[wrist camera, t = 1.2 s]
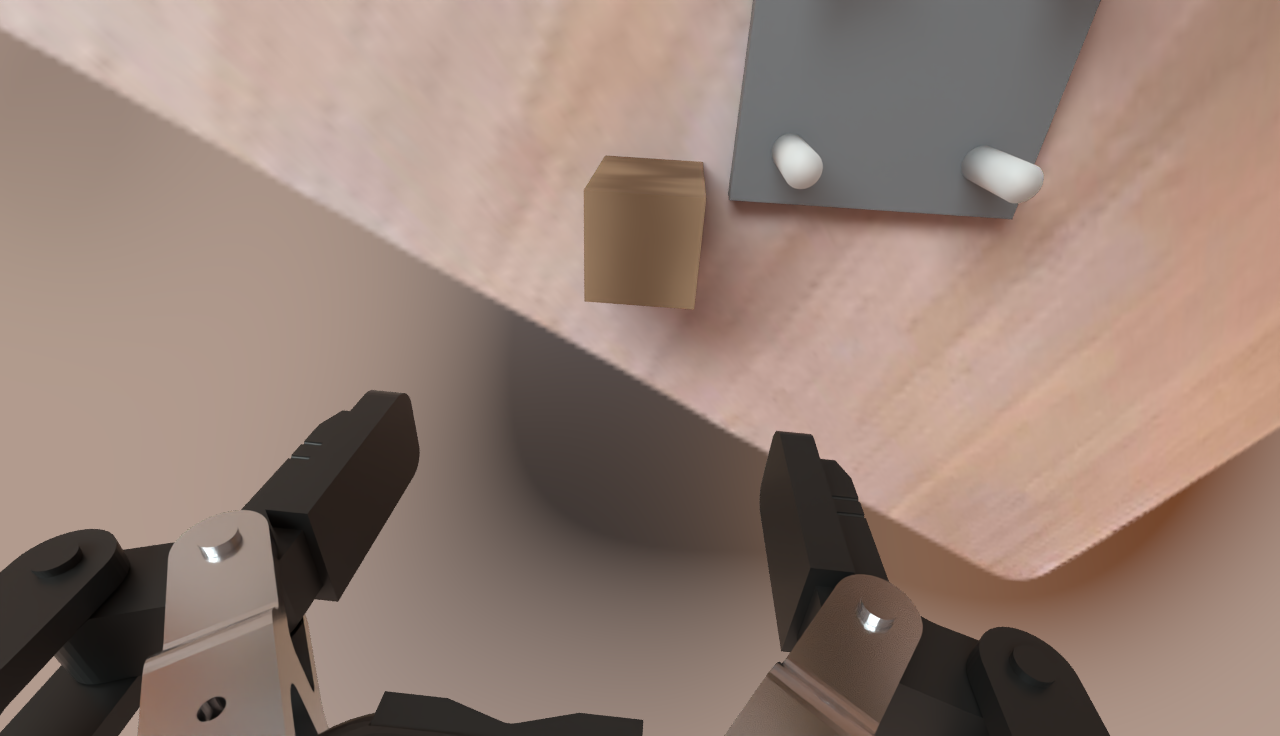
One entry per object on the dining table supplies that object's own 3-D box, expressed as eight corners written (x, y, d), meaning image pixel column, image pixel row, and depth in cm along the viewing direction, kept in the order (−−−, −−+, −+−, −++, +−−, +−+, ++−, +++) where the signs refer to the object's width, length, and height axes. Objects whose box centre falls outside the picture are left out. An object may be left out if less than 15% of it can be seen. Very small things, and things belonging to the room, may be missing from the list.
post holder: (1143, -153, 21) (1262, -199, 17) (1000, 212, 29) (1057, 246, 24) (774, -169, 22) (796, -217, 17) (728, 193, 29) (735, 224, 25)
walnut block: (702, 162, 29) (706, 198, 23) (692, 255, 31) (694, 309, 25) (605, 155, 29) (584, 190, 23) (604, 248, 31) (584, 301, 25)
